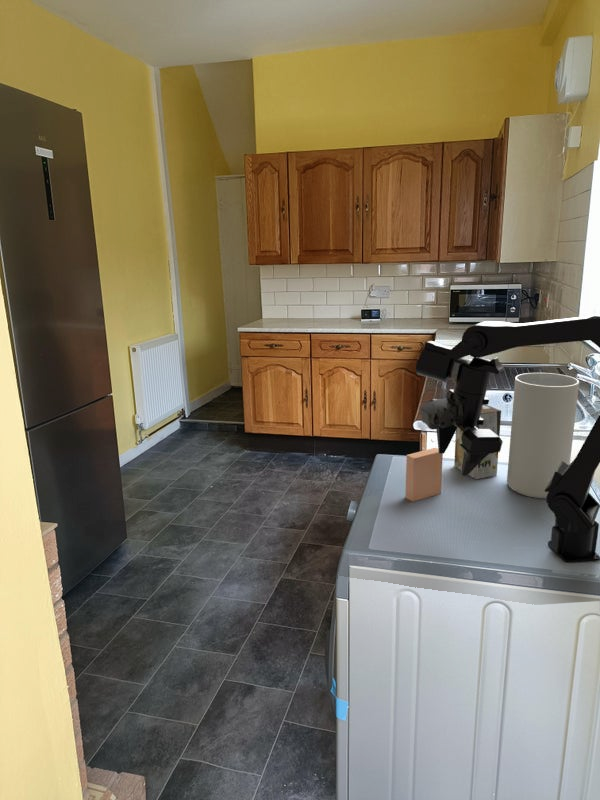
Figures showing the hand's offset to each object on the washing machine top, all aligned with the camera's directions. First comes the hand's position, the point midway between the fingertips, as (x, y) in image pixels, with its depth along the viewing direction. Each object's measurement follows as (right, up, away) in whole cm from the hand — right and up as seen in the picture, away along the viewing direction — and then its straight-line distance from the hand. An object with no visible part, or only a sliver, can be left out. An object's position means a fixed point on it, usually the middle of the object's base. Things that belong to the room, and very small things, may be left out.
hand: (452, 464), depth 111 cm
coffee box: (+13, -5, +27) cm, 30 cm away
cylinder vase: (+23, -7, +17) cm, 30 cm away
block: (-3, -9, +15) cm, 17 cm away
